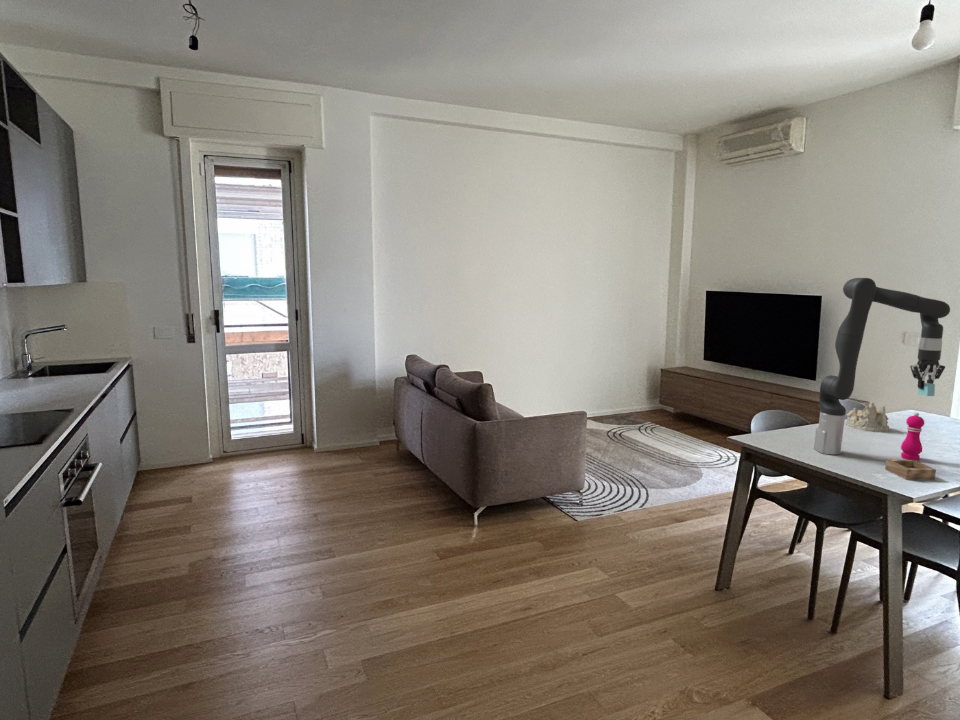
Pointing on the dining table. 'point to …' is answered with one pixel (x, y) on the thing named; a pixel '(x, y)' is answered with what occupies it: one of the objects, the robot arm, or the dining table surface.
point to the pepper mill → (912, 438)
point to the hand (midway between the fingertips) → (925, 388)
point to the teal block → (927, 390)
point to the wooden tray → (910, 469)
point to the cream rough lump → (868, 419)
